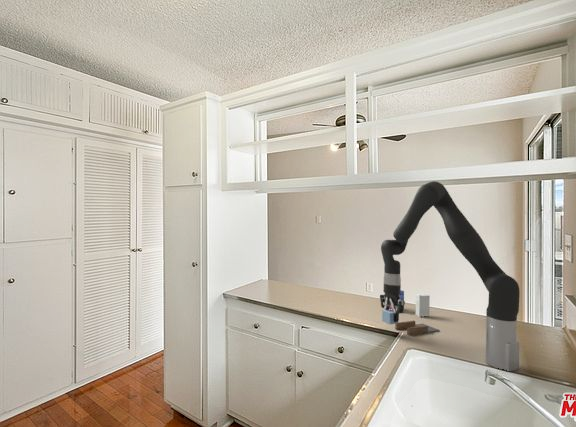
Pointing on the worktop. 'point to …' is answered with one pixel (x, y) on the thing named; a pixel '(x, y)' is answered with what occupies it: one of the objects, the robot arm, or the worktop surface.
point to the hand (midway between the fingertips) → (391, 319)
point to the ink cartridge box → (400, 298)
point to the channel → (411, 327)
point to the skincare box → (422, 304)
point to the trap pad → (430, 329)
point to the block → (388, 316)
